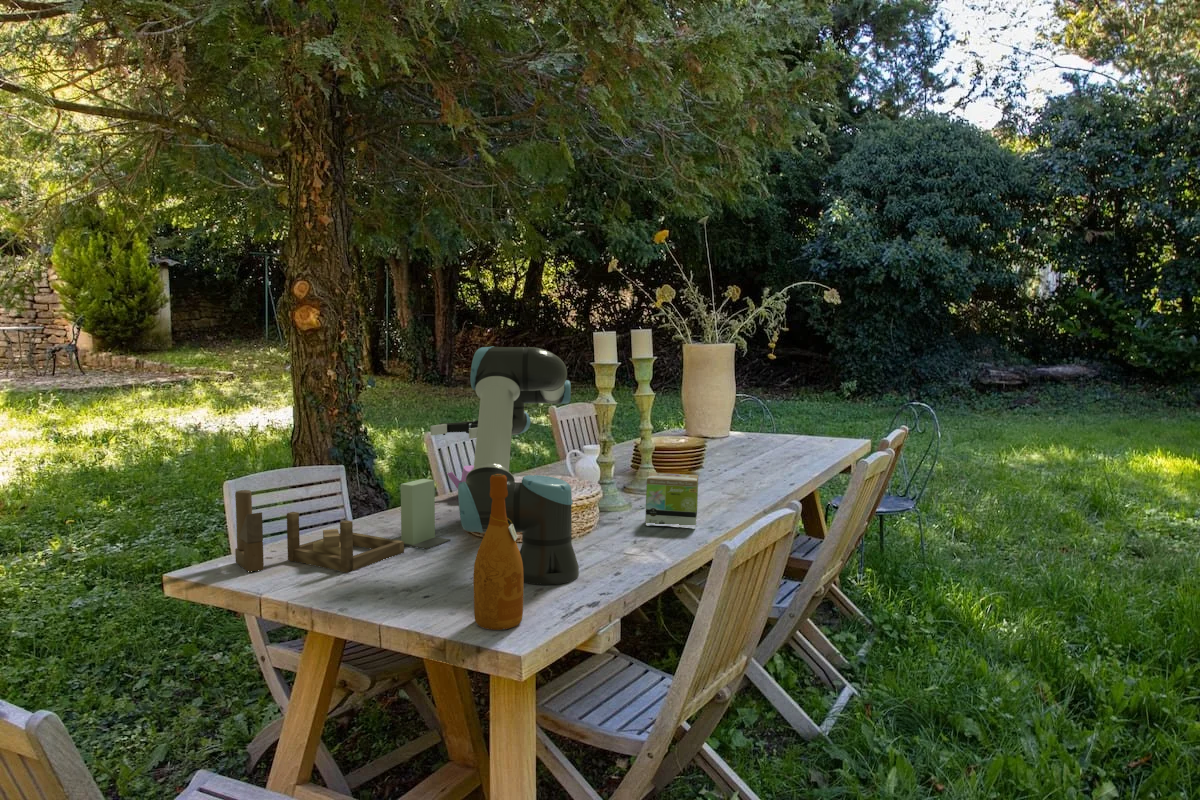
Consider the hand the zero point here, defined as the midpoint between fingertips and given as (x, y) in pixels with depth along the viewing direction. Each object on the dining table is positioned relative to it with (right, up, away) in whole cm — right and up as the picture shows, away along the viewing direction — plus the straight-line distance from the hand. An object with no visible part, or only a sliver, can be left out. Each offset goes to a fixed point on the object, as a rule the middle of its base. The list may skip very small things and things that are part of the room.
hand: (450, 432), depth 230 cm
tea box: (+64, -28, +14) cm, 71 cm away
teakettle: (+1, -25, +49) cm, 55 cm away
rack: (-22, -31, -23) cm, 44 cm away
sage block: (-7, -29, -8) cm, 31 cm away
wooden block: (-43, -32, -32) cm, 62 cm away
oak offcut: (-24, -29, -28) cm, 47 cm away
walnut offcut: (-24, -26, -28) cm, 46 cm away
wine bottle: (+22, -36, -67) cm, 79 cm away
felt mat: (-7, -29, -8) cm, 31 cm away
